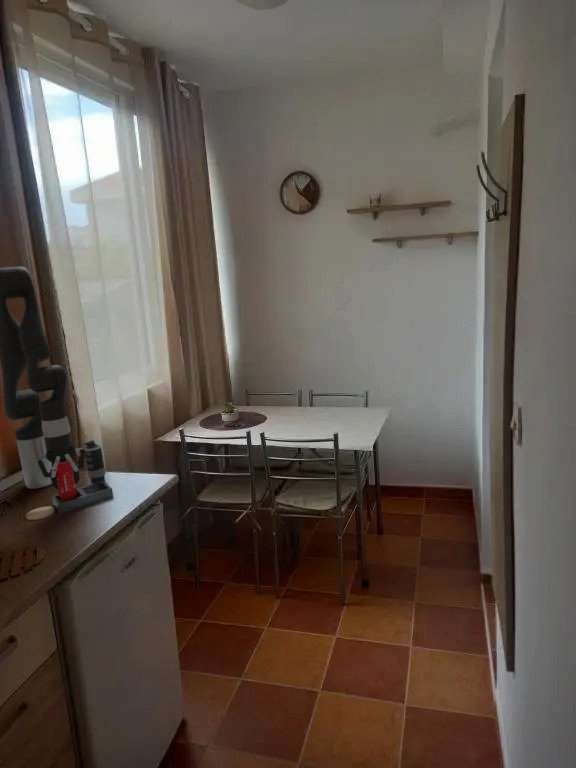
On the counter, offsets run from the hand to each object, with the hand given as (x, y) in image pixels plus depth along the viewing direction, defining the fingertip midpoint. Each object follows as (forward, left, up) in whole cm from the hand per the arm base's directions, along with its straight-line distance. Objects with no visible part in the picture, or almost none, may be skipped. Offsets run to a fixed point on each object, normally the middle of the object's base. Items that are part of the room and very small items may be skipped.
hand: (66, 485), depth 165 cm
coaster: (0, -8, -7) cm, 11 cm away
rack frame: (0, +4, -7) cm, 8 cm away
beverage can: (0, 0, -4) cm, 4 cm away
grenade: (-13, +12, -7) cm, 18 cm away
